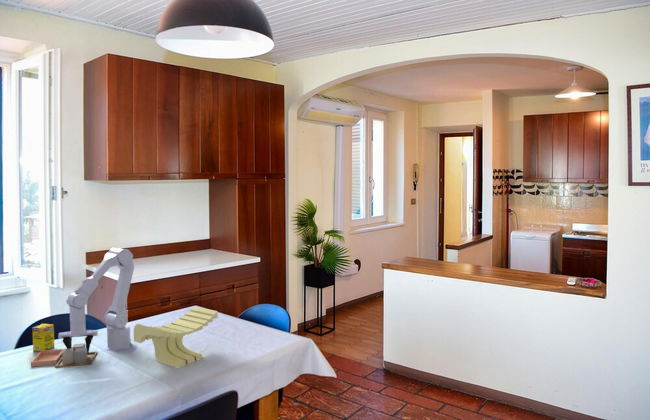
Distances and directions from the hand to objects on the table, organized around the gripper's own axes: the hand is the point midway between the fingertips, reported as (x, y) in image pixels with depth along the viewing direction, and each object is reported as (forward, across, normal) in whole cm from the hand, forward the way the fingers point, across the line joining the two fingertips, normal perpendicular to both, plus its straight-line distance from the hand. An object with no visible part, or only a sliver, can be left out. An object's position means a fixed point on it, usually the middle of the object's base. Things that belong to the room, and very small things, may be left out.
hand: (79, 353), depth 205 cm
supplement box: (+2, -17, +14) cm, 22 cm away
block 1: (+1, 0, 0) cm, 1 cm away
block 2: (+1, +2, -6) cm, 6 cm away
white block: (+1, -3, -5) cm, 6 cm away
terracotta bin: (+2, -12, 0) cm, 12 cm away
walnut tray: (+2, 0, -4) cm, 4 cm away
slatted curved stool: (+2, +40, -11) cm, 42 cm away
